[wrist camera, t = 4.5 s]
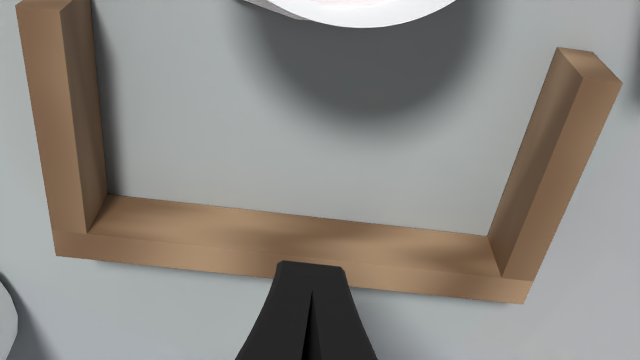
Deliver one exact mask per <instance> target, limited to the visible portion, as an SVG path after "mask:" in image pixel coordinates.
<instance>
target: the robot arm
mask: <svg viewBox="0 0 640 360" xmlns="http://www.w3.org/2000/svg"><path fill="white" fill-rule="evenodd" d="M235 360H378V359H377V357H376V355H375V353H374V350H373V348H372V346H371V344H370V341H369V339H368V337H367V335H366V332H365V330H364V328H363V325H362V323H361V320H360V318H359V315H358V312H357V309H356V307H355V304H354V301H353V298H352V295H351V292H350V289H349V286H348V282H347V278H346V274H345V271H344V270H343V269H342V268H341V267H340V266H331V265H322V264H313V263H304V262H295V261H286V260H282V261H281V262H279V263H277V266H276V272H275V276H274V279H273V283H272V286H271V288H270V291H269V294H268V296H267V298H266V301H265V303H264V306H263V308H262V310H261V312H260V314H259V316H258V318H257V320H256V322H255V324H254V326H253V328H252V330H251V332H250V334H249V336H248V338H247V340H246V341H245V343H244V345H243V347H242V348H241V350H240V352H239V353H238V355H237V357H236V358H235Z"/></svg>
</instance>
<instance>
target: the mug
mask: <svg viewBox="0 0 640 360" xmlns="http://www.w3.org/2000/svg"><path fill="white" fill-rule="evenodd" d="M17 328H18V315H17V312H16V309H15V307H14V304H13V301H12V299H11V296H10V294H9V293H8V292H7V290H6V289H5V287H4V286H3V284H2V283H1V282H0V360H6V359H7V356H8V354H9V352H10V350H11V348H12V345H13V343H14V340H15V338H16V335H17Z"/></svg>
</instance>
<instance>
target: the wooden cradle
mask: <svg viewBox="0 0 640 360" xmlns="http://www.w3.org/2000/svg"><path fill="white" fill-rule="evenodd" d="M15 7H16V13H17V20H18V26H19V32H20V38H21V44H22V50H23V56H24V62H25V69H26V75H27V81H28V87H29V93H30V99H31V105H32V111H33V118H34V124H35V130H36V136H37V142H38V148H39V154H40V160H41V167H42V173H43V179H44V185H45V191H46V197H47V203H48V209H49V216H50V222H51V228H52V234H53V240H54V246H55V252H56V256H63V257H72V258H82V259H91V260H101V261H111V262H120V263H130V264H139V265H149V266H159V267H168V268H178V269H187V270H197V271H207V272H216V273H226V274H235V275H245V276H255V277H264V278H274V276H275V272H276V266H277V263H279V262H281V261H282V260H286V261H295V262H304V263H313V264H322V265H331V266H340V267H341V268H342V269H343V270H344V271H345V274H346V278H347V282H348V286H351V287H360V288H370V289H379V290H389V291H399V292H408V293H418V294H427V295H437V296H447V297H456V298H466V299H475V300H485V301H495V302H504V303H514V304H523V303H524V301H525V299H526V297H527V295H528V292H529V290H530V288H531V286H532V283H533V281H534V279H535V277H536V275H537V272H538V270H539V268H540V266H541V264H542V261H543V259H544V257H545V255H546V252H547V250H548V248H549V246H550V244H551V241H552V239H553V237H554V235H555V232H556V230H557V228H558V226H559V224H560V221H561V219H562V217H563V215H564V213H565V210H566V208H567V206H568V204H569V201H570V199H571V197H572V195H573V193H574V190H575V188H576V186H577V184H578V182H579V179H580V177H581V175H582V173H583V170H584V168H585V166H586V164H587V162H588V159H589V157H590V155H591V153H592V151H593V148H594V146H595V144H596V142H597V139H598V137H599V135H600V133H601V131H602V128H603V126H604V124H605V122H606V119H607V117H608V115H609V113H610V111H611V108H612V106H613V104H614V102H615V100H616V97H617V95H618V93H619V91H620V88H621V86H622V84H623V83H622V82H621V81H620V80H619V79H618V78H617V77H616V76H615V75H614V74H613V72H612V71H611V70H610V69H609V68H608V67H607V66H606V65H605V64H604V63H603V62H602V61H601V60H600V59H599V58H598V57H597V56H596V55H595V54H594V53H593V52H589V51H581V50H574V49H566V48H558V47H557V49H556V52H555V55H554V57H553V60H552V63H551V65H550V68H549V71H548V74H547V76H546V79H545V82H544V84H543V87H542V90H541V92H540V95H539V98H538V101H537V103H536V106H535V109H534V111H533V114H532V117H531V120H530V122H529V125H528V128H527V130H526V133H525V136H524V138H523V141H522V144H521V147H520V149H519V152H518V155H517V157H516V160H515V163H514V165H513V168H512V171H511V174H510V176H509V179H508V182H507V184H506V187H505V190H504V193H503V195H502V198H501V201H500V203H499V206H498V209H497V211H496V214H495V217H494V220H493V222H492V225H491V228H490V230H489V233H488V236H480V235H471V234H462V233H453V232H444V231H435V230H426V229H417V228H408V227H399V226H390V225H381V224H371V223H362V222H353V221H344V220H335V219H326V218H317V217H308V216H299V215H290V214H281V213H272V212H263V211H254V210H245V209H236V208H227V207H218V206H209V205H200V204H191V203H182V202H173V201H163V200H154V199H145V198H136V197H127V196H118V195H109V194H108V190H107V179H106V168H105V157H104V146H103V135H102V124H101V113H100V102H99V91H98V80H97V69H96V58H95V47H94V36H93V25H92V14H91V3H90V0H23V1H21V2H20V3H18V4H17V5H16V6H15Z"/></svg>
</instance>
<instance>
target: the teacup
mask: <svg viewBox="0 0 640 360" xmlns="http://www.w3.org/2000/svg"><path fill="white" fill-rule="evenodd" d="M245 1H247V2H250V3H253V4H255V5H258V6H261V7H264V8H266V9H269V10H272V11H274V12H277V13H280V14H283V15H285V16H288V17H291V18H293V19H296V20H311V21H315V22H319V23H323V24H328V25H334V26H340V27H350V28H376V27H385V26H392V25H397V24H402V23H406V22H409V21H413V20H416V19H419V18H422V17H424V16H427V15H429V14H431V13H434V12H436V11H438V10H440V9H442V8H444V7H445V6H447V5H449V4H451V3H452V2H454V1H455V0H245Z"/></svg>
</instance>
